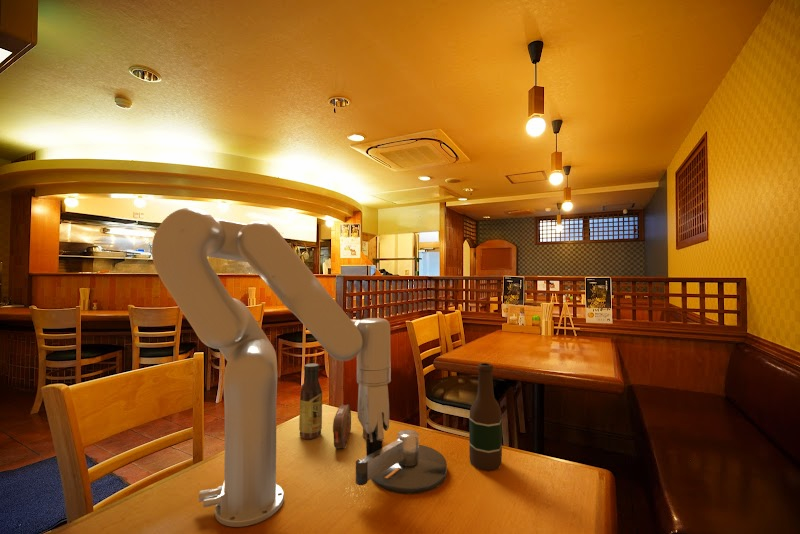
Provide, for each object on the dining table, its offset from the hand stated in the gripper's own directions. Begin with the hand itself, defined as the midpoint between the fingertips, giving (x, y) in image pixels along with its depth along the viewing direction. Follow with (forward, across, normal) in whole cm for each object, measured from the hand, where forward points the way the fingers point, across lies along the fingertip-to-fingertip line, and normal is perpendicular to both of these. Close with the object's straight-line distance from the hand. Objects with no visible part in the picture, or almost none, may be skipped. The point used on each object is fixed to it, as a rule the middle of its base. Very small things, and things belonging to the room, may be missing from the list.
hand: (374, 457), depth 80 cm
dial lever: (+3, +2, +3) cm, 4 cm away
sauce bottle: (+5, -28, -11) cm, 30 cm away
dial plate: (+5, -2, +9) cm, 10 cm away
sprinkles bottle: (+6, -22, +5) cm, 23 cm away
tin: (+6, -22, -3) cm, 23 cm away
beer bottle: (+6, +2, +28) cm, 28 cm away
